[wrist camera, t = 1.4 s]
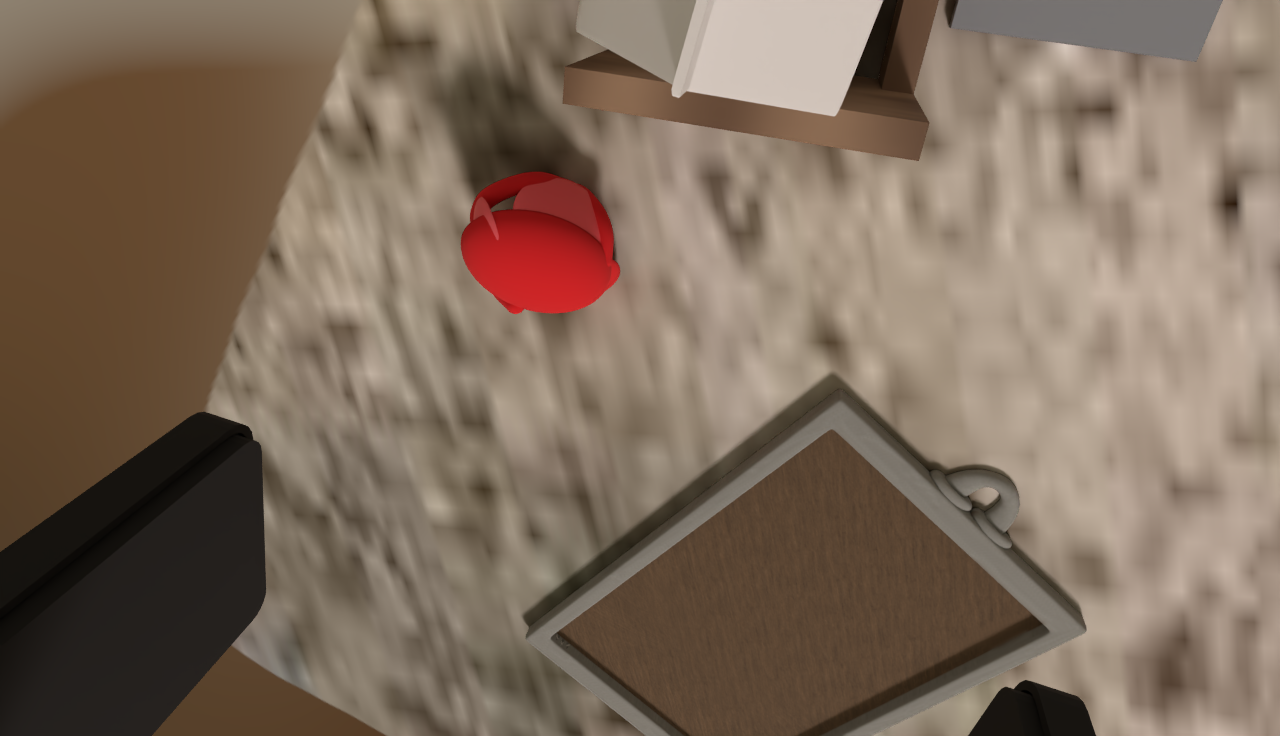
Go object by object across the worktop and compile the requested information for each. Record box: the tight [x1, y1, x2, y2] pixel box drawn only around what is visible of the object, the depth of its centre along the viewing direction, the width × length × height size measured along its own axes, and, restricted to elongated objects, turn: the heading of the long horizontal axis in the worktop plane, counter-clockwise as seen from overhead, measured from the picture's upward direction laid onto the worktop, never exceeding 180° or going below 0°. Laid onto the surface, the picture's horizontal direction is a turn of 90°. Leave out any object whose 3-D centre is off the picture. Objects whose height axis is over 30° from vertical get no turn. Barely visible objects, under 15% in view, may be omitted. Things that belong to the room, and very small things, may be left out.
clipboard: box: [526, 389, 1086, 736], centre depth 47 cm, size 19×2×30 cm
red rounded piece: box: [461, 172, 620, 314], centre depth 37 cm, size 8×6×6 cm
